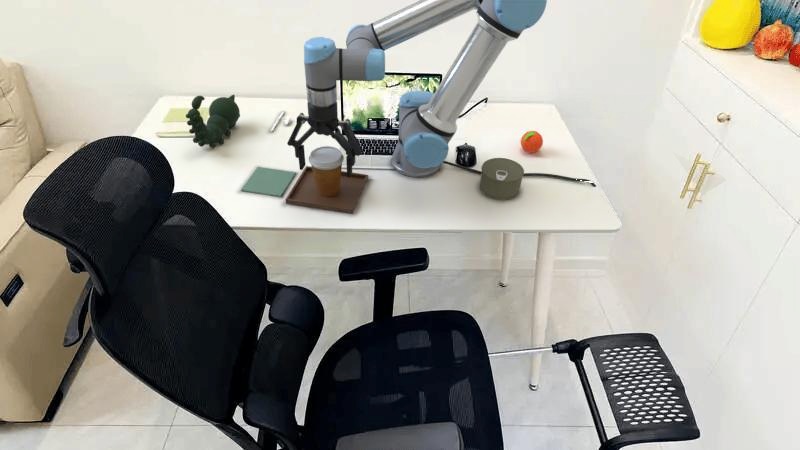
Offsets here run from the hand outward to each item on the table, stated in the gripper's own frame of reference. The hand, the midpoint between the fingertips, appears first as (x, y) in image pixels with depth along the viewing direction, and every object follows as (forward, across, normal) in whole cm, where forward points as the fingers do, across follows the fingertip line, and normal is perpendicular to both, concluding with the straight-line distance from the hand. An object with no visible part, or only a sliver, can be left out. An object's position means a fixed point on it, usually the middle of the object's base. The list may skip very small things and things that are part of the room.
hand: (325, 171), depth 150 cm
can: (+6, -48, -13) cm, 51 cm away
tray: (+7, 0, 0) cm, 7 cm away
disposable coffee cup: (+7, 0, 0) cm, 7 cm away
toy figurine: (+8, +43, -20) cm, 48 cm away
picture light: (+7, +27, -34) cm, 44 cm away
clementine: (+6, -56, -36) cm, 67 cm away
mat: (+7, +18, 0) cm, 19 cm away
